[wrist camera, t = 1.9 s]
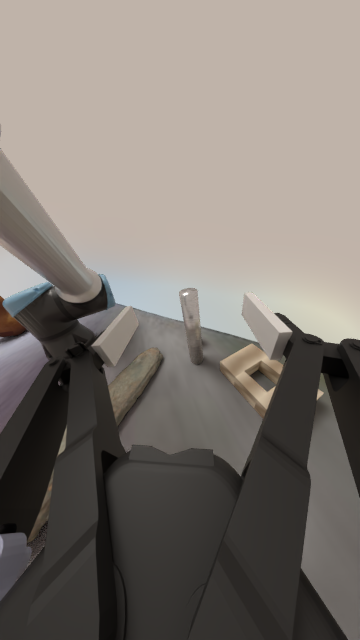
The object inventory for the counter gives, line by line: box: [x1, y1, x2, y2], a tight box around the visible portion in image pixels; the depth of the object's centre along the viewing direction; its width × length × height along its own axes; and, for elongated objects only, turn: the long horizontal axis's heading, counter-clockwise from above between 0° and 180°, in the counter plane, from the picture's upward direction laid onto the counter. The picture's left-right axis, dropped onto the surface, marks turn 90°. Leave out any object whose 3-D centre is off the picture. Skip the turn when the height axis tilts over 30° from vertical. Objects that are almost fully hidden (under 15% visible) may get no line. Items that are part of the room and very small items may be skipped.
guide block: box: [220, 344, 324, 418], centre depth 27 cm, size 14×10×4 cm
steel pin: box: [179, 288, 203, 364], centre depth 30 cm, size 4×4×20 cm
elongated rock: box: [27, 348, 163, 542], centre depth 27 cm, size 35×5×10 cm
